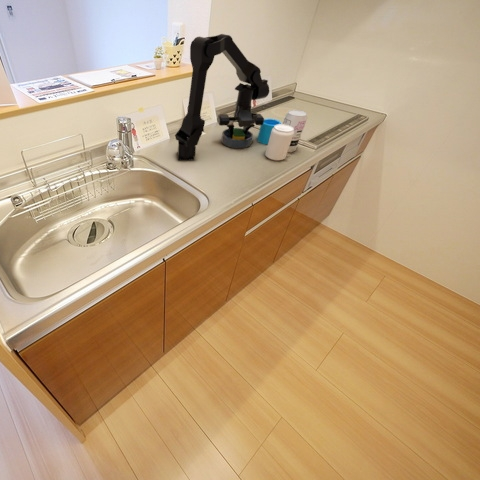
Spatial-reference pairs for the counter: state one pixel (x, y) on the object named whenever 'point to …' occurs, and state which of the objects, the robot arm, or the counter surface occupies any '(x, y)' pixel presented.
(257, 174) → the counter surface
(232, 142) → the bowl
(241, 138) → the sponge
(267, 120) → the mug
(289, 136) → the beverage can
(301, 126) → the supplement can
